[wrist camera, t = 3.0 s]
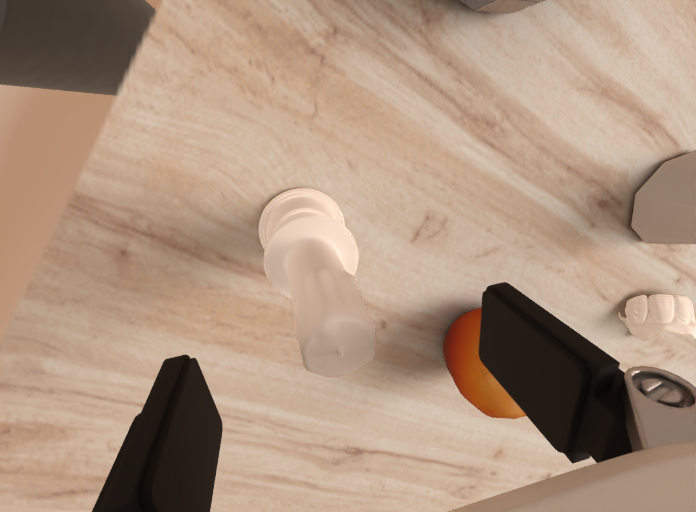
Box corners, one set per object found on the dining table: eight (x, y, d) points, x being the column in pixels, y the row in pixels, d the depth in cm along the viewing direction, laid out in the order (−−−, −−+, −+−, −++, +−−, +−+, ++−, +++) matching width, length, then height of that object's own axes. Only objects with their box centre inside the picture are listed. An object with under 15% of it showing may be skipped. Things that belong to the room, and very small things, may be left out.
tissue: (647, 273, 29) (697, 294, 26) (686, 299, 33) (735, 321, 29) (606, 320, 31) (648, 346, 28) (647, 342, 34) (689, 367, 31)
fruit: (413, 393, 26) (489, 430, 19) (426, 298, 28) (501, 299, 21) (487, 401, 29) (578, 437, 22) (495, 315, 31) (583, 321, 24)
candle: (242, 208, 19) (212, 337, 8) (326, 173, 19) (403, 252, 8) (281, 280, 21) (298, 451, 11) (355, 248, 22) (443, 382, 11)
